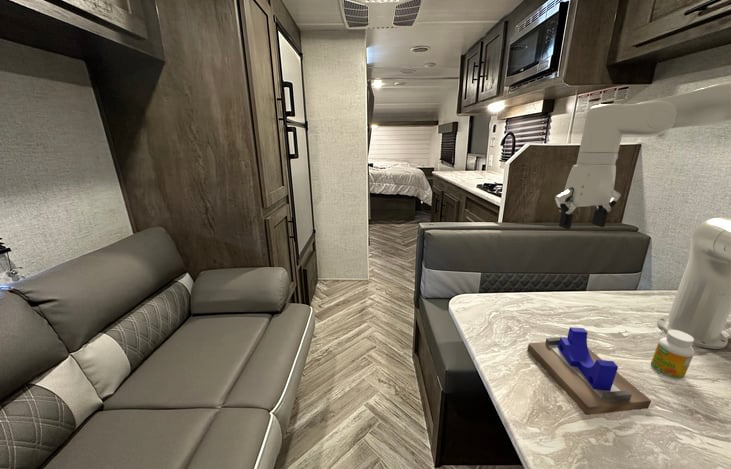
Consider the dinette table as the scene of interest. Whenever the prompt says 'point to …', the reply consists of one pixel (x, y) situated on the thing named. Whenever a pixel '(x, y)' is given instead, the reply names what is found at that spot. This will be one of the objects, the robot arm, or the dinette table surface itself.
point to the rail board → (580, 389)
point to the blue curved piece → (587, 360)
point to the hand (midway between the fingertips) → (581, 226)
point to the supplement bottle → (673, 355)
